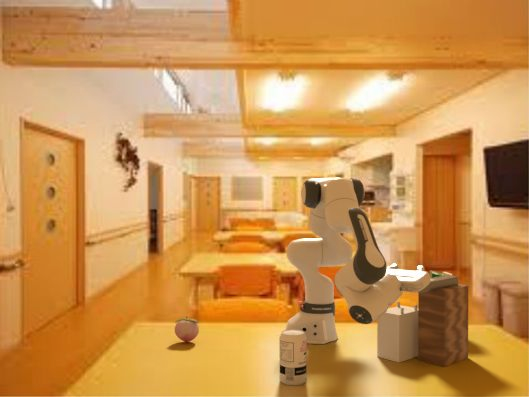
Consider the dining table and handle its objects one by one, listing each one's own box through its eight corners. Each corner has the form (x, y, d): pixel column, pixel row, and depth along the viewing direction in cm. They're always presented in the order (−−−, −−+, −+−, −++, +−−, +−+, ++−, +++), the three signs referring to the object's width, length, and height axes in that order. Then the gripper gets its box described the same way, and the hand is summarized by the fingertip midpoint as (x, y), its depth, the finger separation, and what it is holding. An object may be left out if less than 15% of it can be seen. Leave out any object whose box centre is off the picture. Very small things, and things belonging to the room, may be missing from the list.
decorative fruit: (201, 339, 223) (201, 313, 223) (196, 345, 215) (196, 318, 215) (177, 339, 224) (177, 313, 224) (172, 344, 216) (172, 318, 216)
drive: (421, 293, 185) (421, 283, 185) (409, 291, 189) (409, 281, 189) (458, 285, 200) (458, 276, 200) (446, 283, 203) (446, 274, 203)
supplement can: (278, 377, 179) (278, 329, 179) (304, 376, 180) (304, 328, 180) (281, 386, 171) (281, 336, 171) (308, 385, 172) (308, 335, 171)
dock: (398, 362, 194) (399, 309, 194) (377, 356, 201) (377, 305, 201) (422, 354, 203) (422, 304, 203) (401, 349, 210) (401, 300, 210)
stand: (444, 366, 190) (444, 290, 189) (418, 359, 197) (418, 286, 197) (467, 357, 200) (468, 285, 199) (442, 351, 207) (442, 282, 207)
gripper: (415, 282, 168) (436, 260, 177) (357, 276, 182) (379, 256, 191) (420, 301, 169) (440, 278, 179) (362, 294, 184) (384, 273, 193)
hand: (408, 266), depth 185 cm, fingers open, 8 cm apart
